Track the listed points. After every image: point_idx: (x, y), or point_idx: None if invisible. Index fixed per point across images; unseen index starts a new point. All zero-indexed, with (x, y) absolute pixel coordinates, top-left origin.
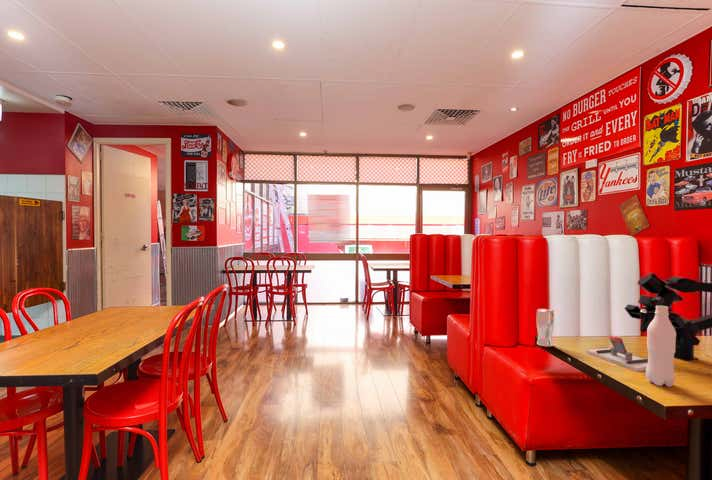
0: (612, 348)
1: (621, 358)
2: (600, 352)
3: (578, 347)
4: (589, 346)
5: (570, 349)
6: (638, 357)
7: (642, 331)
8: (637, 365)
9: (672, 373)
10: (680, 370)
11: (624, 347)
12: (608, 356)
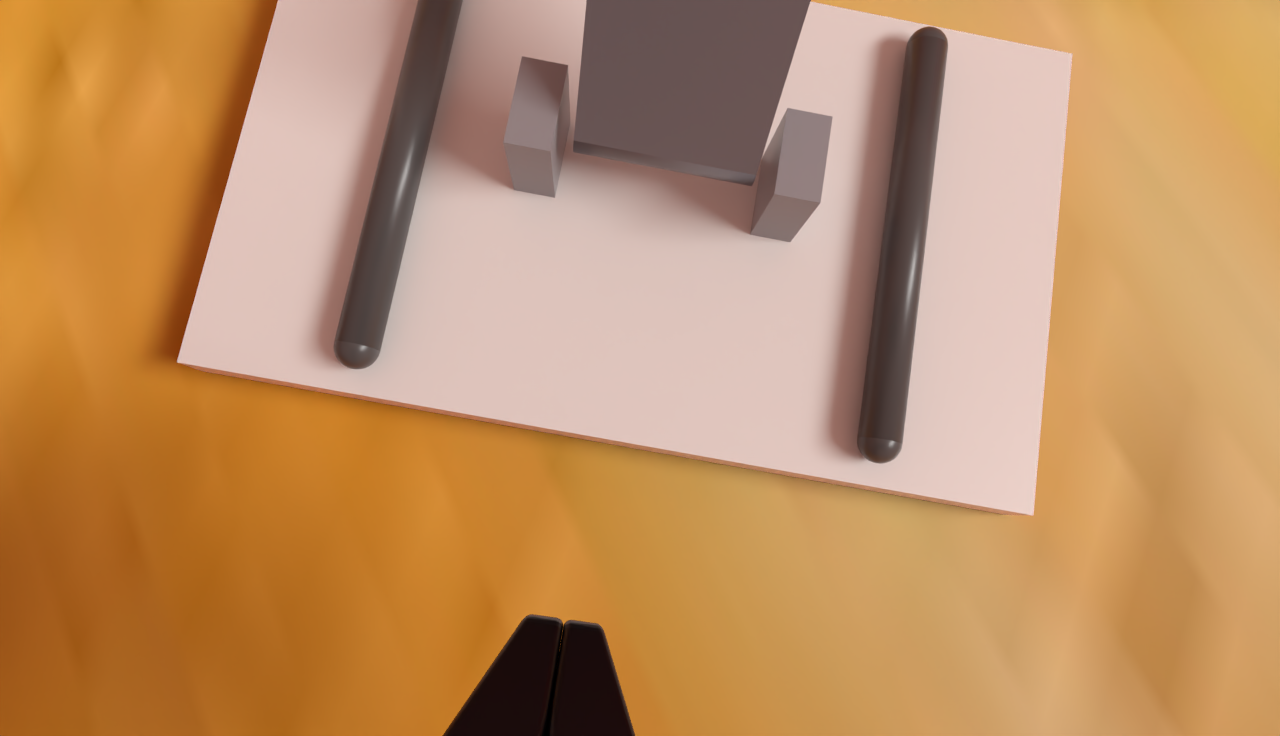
0: (802, 111)
1: None
2: (902, 83)
3: (1274, 227)
4: (1271, 446)
5: (1230, 27)
6: (542, 426)
7: (525, 620)
8: (349, 7)
9: None
10: (25, 546)
11: (587, 17)
12: None
